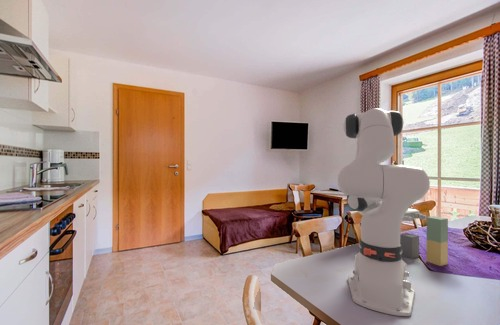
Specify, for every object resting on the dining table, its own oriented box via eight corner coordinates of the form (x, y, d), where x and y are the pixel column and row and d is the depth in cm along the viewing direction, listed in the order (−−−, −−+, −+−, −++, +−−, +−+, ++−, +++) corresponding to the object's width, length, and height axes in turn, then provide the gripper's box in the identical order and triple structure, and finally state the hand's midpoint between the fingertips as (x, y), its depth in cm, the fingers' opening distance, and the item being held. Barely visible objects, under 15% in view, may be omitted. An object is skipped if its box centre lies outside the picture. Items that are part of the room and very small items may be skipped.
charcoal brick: (418, 257, 102) (419, 236, 102) (411, 259, 100) (411, 237, 100) (406, 253, 107) (407, 232, 107) (399, 254, 104) (400, 234, 104)
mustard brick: (447, 263, 95) (447, 241, 95) (440, 266, 93) (440, 242, 93) (433, 259, 100) (433, 237, 100) (426, 261, 98) (426, 239, 98)
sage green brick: (447, 241, 95) (447, 218, 95) (440, 242, 93) (440, 219, 93) (433, 237, 100) (433, 216, 100) (426, 239, 98) (426, 217, 98)
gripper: (373, 207, 111) (403, 213, 98) (401, 204, 120) (432, 209, 107) (373, 221, 111) (403, 228, 98) (401, 217, 120) (432, 223, 107)
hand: (418, 218), depth 103 cm, fingers open, 8 cm apart
